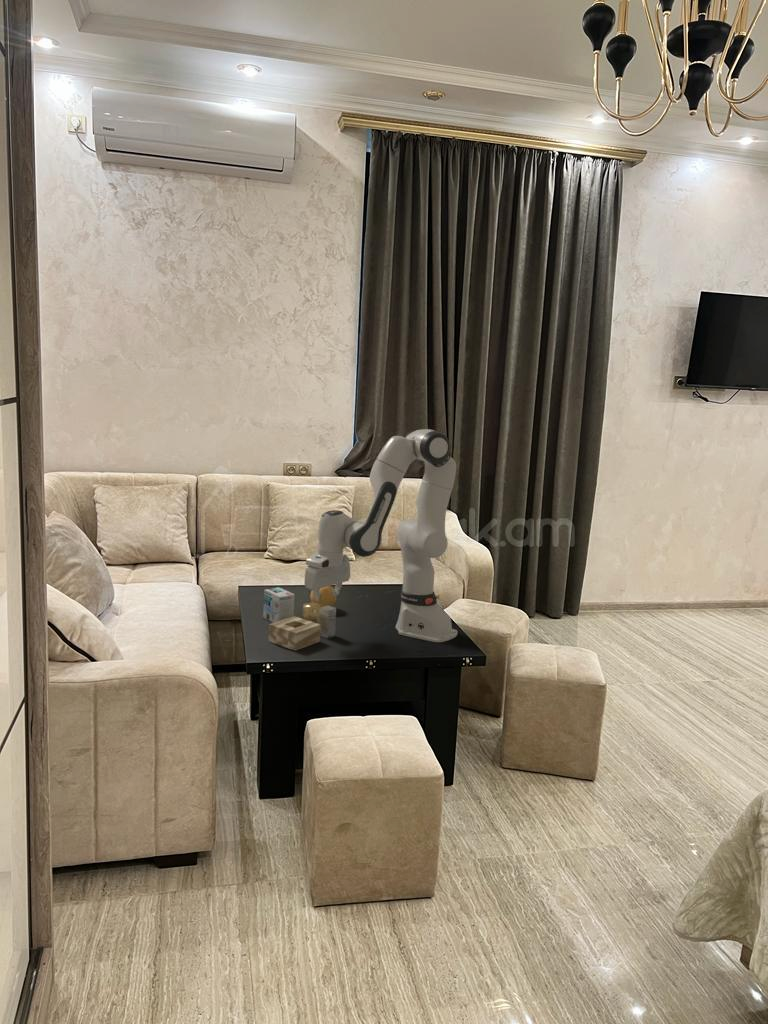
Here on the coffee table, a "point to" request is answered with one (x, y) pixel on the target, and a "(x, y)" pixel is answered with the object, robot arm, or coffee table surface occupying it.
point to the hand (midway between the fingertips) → (326, 597)
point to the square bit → (327, 621)
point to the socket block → (294, 633)
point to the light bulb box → (278, 604)
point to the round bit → (311, 612)
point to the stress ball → (324, 597)
